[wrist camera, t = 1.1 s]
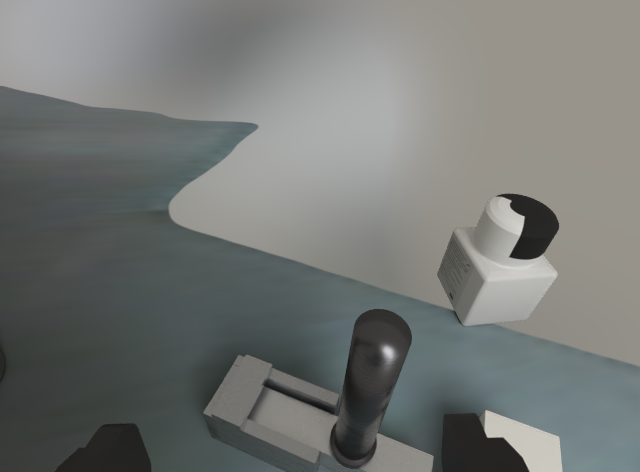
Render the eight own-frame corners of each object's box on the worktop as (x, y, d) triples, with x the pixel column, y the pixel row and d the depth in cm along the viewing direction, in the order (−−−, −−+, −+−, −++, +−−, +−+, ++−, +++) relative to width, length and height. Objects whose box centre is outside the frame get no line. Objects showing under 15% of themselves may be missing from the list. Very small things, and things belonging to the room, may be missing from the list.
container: (493, 270, 47) (539, 183, 38) (527, 321, 41) (589, 233, 32) (435, 274, 46) (468, 186, 37) (462, 327, 40) (507, 238, 31)
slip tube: (229, 428, 31) (189, 295, 19) (249, 390, 33) (225, 252, 22) (417, 513, 27) (508, 411, 15) (425, 464, 29) (509, 344, 18)
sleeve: (212, 436, 31) (201, 409, 27) (243, 381, 34) (238, 351, 31) (312, 483, 29) (315, 460, 25) (335, 419, 32) (339, 391, 29)
